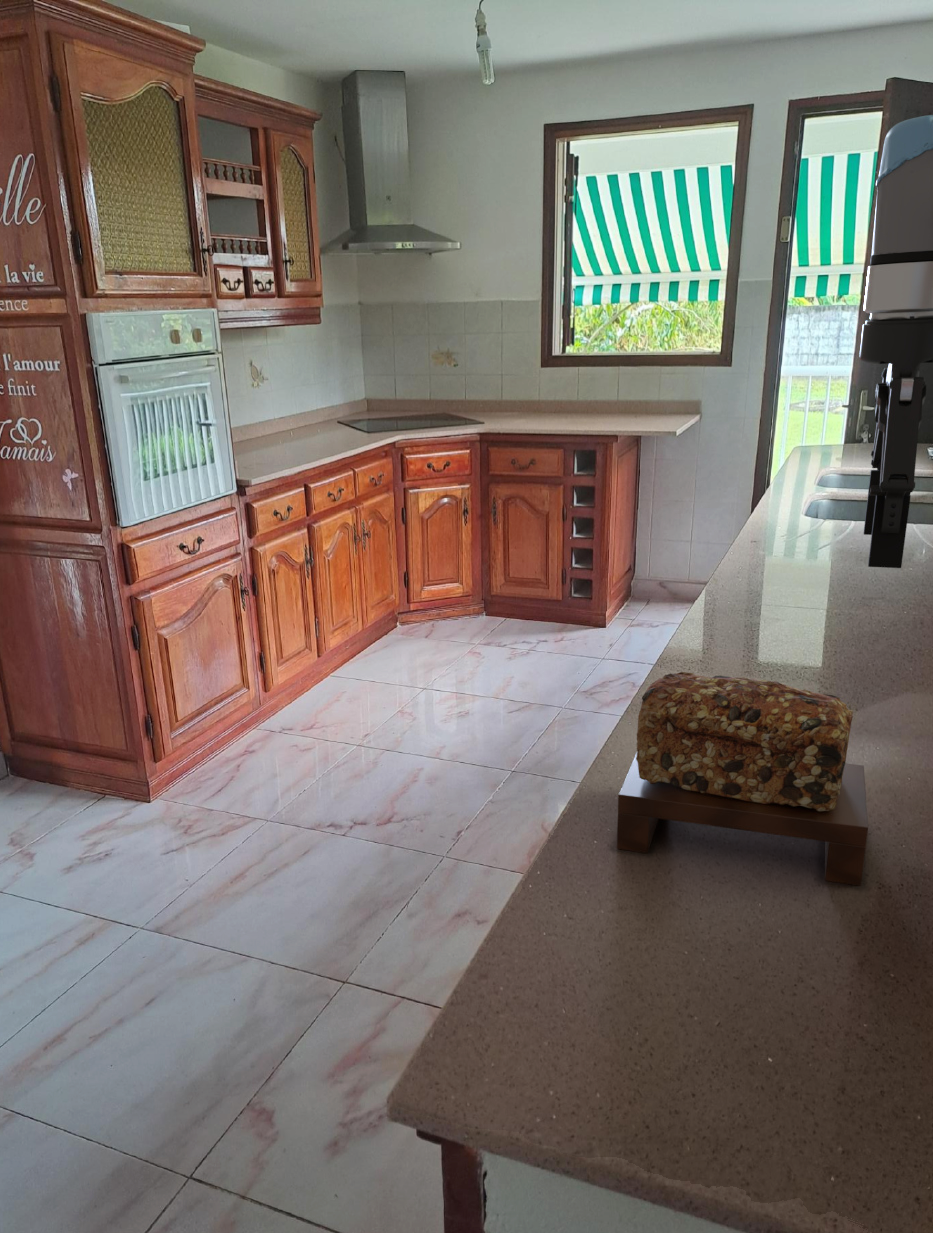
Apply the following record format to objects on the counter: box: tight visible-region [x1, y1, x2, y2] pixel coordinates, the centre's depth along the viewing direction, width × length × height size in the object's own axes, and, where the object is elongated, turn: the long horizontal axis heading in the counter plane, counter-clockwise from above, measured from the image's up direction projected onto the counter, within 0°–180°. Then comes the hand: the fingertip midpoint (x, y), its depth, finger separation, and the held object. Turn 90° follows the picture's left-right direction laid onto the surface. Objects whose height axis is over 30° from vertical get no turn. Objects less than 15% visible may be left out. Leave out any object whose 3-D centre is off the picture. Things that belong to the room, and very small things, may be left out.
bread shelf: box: [616, 751, 869, 887], centre depth 95 cm, size 22×13×6 cm, turn 69°
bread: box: [636, 671, 854, 811], centre depth 92 cm, size 19×11×10 cm, turn 64°
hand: (880, 549), depth 93 cm, fingers open, 13 cm apart
